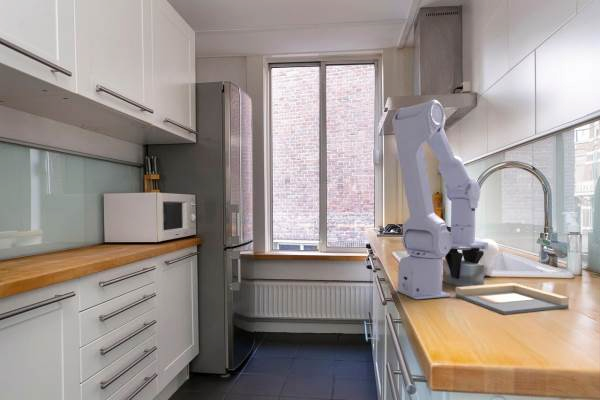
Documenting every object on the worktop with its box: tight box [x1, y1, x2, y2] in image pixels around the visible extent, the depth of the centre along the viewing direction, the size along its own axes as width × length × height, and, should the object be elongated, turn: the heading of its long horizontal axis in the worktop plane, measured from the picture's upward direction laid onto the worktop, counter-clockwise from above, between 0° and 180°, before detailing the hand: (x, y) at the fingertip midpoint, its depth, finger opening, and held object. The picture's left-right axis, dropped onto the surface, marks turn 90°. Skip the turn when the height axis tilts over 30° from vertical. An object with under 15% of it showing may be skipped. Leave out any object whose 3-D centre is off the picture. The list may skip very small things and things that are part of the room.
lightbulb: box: [479, 238, 500, 277], centre depth 101 cm, size 6×6×11 cm
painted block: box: [442, 258, 485, 287], centre depth 90 cm, size 4×10×6 cm, turn 17°
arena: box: [455, 282, 570, 315], centre depth 75 cm, size 17×13×2 cm
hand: (462, 277), depth 90 cm, fingers closed on painted block, 4 cm apart
